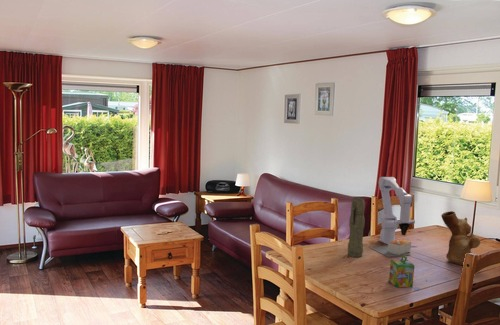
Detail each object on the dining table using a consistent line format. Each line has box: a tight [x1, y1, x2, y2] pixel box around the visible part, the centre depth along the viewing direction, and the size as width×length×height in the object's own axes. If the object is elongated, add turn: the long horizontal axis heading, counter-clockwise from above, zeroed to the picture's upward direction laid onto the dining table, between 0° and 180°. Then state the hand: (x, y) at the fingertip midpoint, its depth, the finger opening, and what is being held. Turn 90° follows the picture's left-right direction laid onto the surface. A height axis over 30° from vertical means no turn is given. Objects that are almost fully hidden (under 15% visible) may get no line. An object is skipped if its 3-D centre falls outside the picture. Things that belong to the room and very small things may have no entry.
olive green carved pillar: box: [347, 196, 366, 259], centre depth 275 cm, size 9×12×35 cm
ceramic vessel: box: [440, 210, 481, 266], centre depth 269 cm, size 16×22×30 cm
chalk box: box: [388, 255, 415, 288], centre depth 231 cm, size 9×9×15 cm
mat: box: [368, 245, 411, 258], centre depth 288 cm, size 20×16×1 cm
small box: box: [387, 239, 412, 255], centre depth 286 cm, size 8×6×13 cm
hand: (403, 234), depth 290 cm, fingers closed
